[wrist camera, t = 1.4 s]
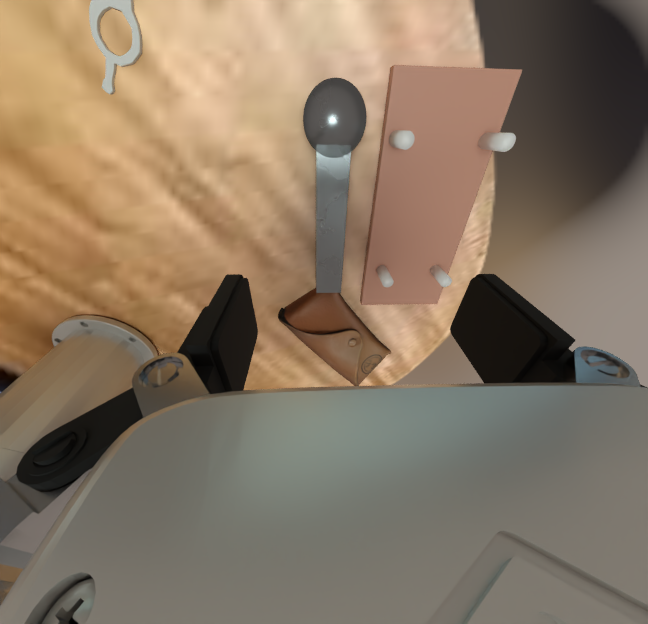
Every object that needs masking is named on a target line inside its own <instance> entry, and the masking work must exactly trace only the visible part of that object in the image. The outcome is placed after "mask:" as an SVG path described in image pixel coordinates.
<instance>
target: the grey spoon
mask: <svg viewBox="0 0 648 624" xmlns="http://www.w3.org/2000/svg"><path fill="white" fill-rule="evenodd" d="M303 122H304V130H305V133H306V136H307V139H308V141H309V143H310V144H311V146H312V147H313V148H314V149H315V150H316V293H341V284H342V270H343V256H344V242H345V228H346V214H347V200H348V186H349V172H350V158H351V151H352V150H354V149H355V147H356V146H357V145H358V143H359V142H360V140H361V138H362V136H363V133H364V130H365V126H366V108H365V104H364V101H363V98H362V96H361V94H360V92H359V91H358V89H357V88H356V87H355V86H354V85H353V84H352V83H350V82H349V81H347V80H345V79H341V78H330V79H327V80H324V81H322V82H321V83H319V84H318V85H317V86H316V87H315V88H314V89H313V90H312V92H311V93H310V95H309V97H308V99H307V102H306V104H305V108H304V115H303Z"/></svg>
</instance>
